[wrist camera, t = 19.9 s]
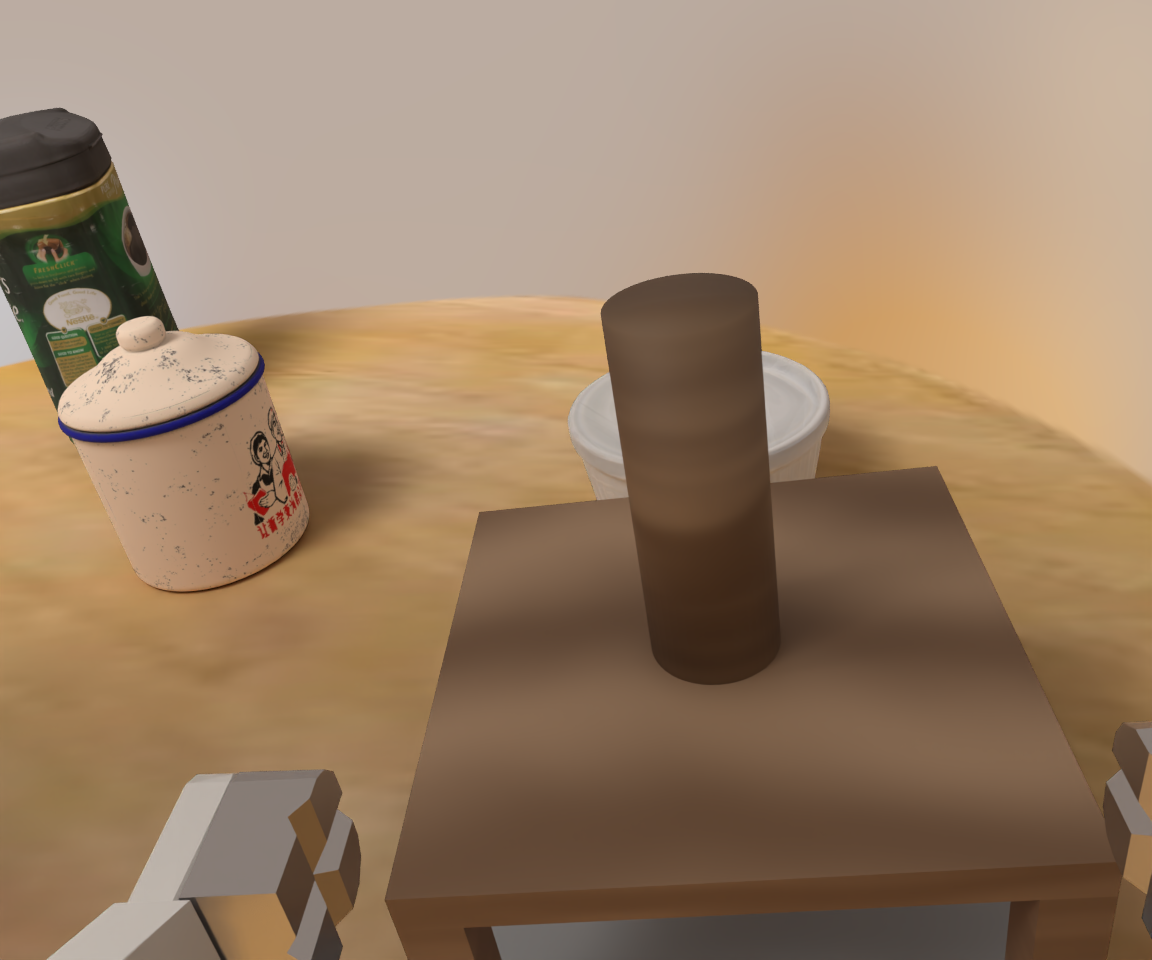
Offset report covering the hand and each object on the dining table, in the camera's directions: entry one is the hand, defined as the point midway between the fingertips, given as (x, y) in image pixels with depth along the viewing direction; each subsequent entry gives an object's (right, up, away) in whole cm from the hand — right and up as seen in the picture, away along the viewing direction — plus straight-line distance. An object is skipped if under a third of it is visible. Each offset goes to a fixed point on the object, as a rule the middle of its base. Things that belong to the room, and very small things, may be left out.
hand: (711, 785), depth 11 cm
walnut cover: (+3, -7, +19) cm, 21 cm away
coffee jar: (-29, +7, +54) cm, 62 cm away
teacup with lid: (-19, +1, +41) cm, 45 cm away
